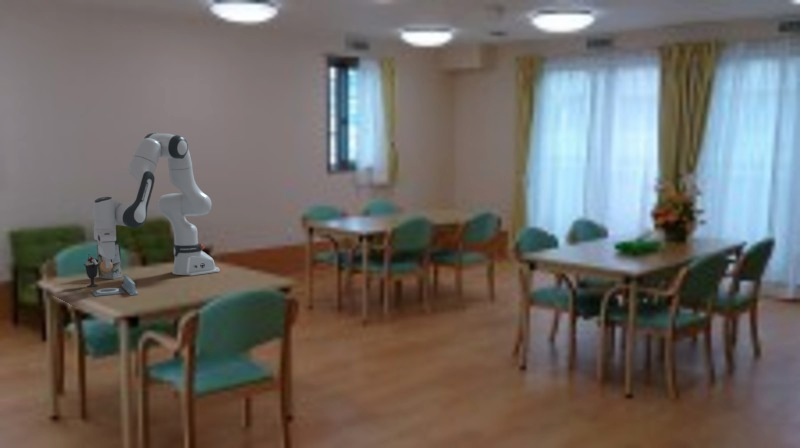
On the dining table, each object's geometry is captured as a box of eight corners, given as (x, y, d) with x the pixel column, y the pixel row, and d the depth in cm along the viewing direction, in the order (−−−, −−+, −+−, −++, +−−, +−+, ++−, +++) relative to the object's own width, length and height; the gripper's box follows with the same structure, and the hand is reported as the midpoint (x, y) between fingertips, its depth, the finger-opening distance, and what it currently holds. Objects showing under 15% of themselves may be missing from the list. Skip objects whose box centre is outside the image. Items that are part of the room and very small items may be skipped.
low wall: (128, 285, 345) (128, 274, 344) (137, 294, 326) (137, 283, 325) (121, 286, 343) (121, 275, 343) (130, 295, 324) (130, 283, 324)
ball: (111, 270, 332) (111, 258, 331) (113, 272, 328) (113, 260, 327) (99, 271, 330) (99, 259, 329) (101, 273, 325) (100, 261, 325)
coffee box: (122, 277, 364) (121, 243, 362) (113, 279, 358) (111, 245, 356) (107, 275, 367) (105, 242, 365) (97, 278, 361) (96, 244, 359)
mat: (120, 288, 338) (120, 286, 338) (124, 293, 328) (124, 291, 328) (91, 291, 332) (91, 289, 332) (95, 296, 322) (95, 294, 322)
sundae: (85, 288, 338) (83, 255, 337) (84, 285, 344) (82, 252, 342) (101, 286, 341) (99, 253, 340) (99, 284, 347) (98, 251, 345)
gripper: (93, 232, 334) (95, 263, 336) (100, 238, 317) (102, 271, 318) (109, 231, 337) (110, 262, 339) (116, 237, 320) (118, 269, 321)
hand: (106, 266), depth 328 cm, fingers closed on ball, 5 cm apart
